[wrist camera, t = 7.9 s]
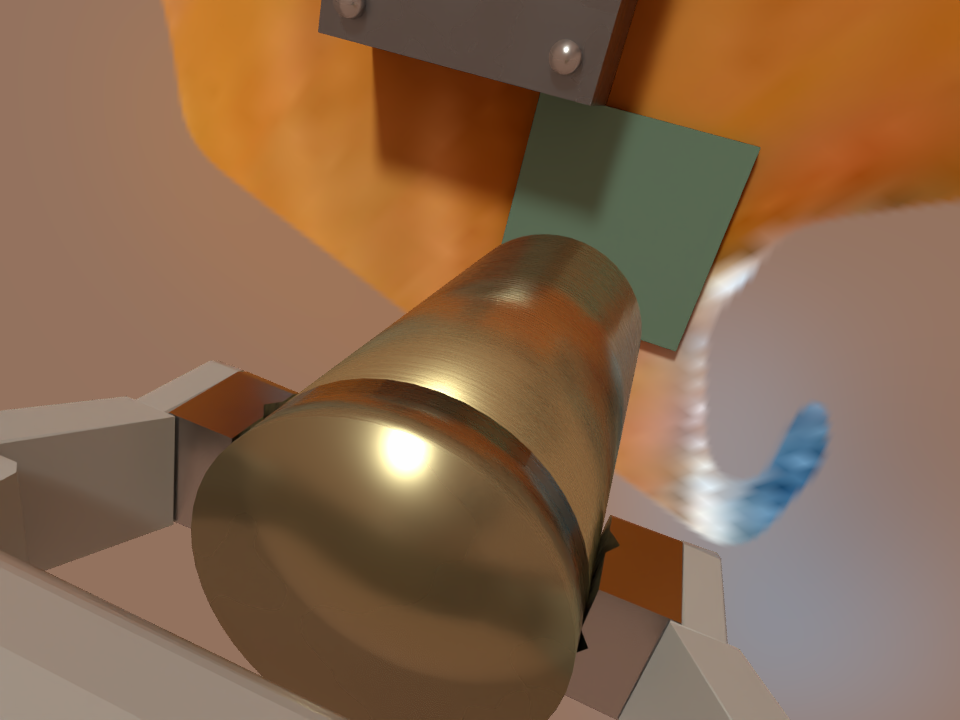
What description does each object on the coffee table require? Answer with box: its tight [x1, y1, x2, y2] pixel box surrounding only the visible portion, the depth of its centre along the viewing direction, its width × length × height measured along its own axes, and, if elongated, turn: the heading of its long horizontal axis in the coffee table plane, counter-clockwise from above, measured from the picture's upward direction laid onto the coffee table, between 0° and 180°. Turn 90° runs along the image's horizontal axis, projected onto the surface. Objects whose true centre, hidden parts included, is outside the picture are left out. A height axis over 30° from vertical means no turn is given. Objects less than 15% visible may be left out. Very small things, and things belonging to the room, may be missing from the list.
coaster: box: [502, 92, 760, 351], centre depth 30 cm, size 10×10×1 cm
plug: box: [191, 234, 642, 720], centre depth 12 cm, size 5×5×10 cm
